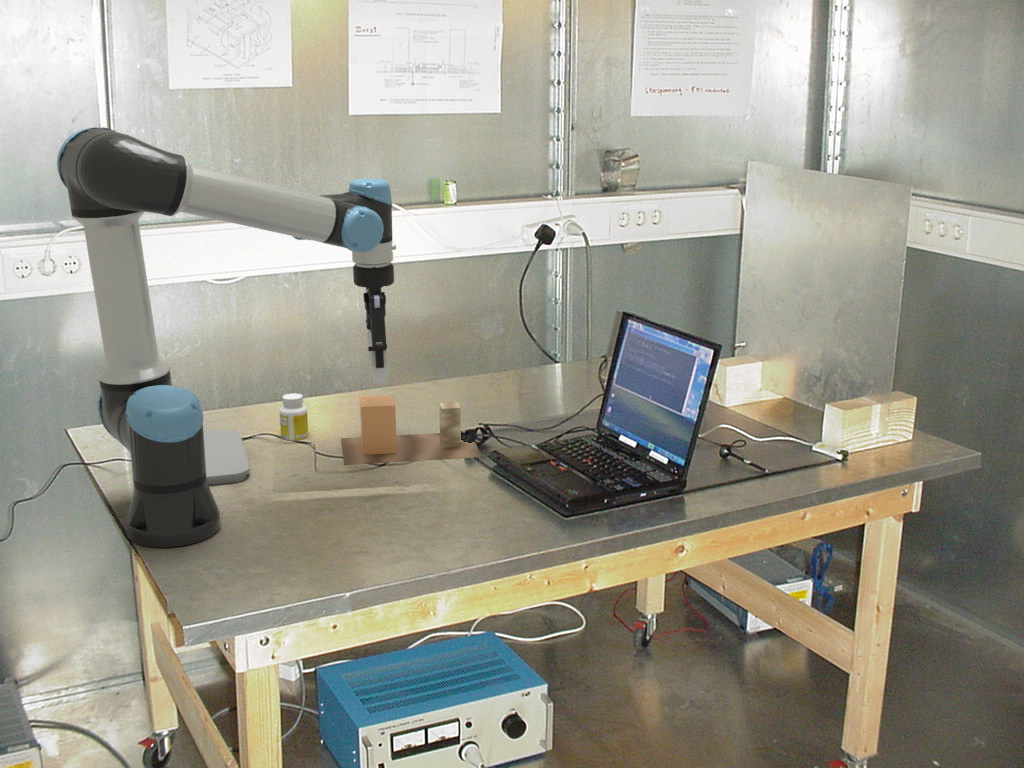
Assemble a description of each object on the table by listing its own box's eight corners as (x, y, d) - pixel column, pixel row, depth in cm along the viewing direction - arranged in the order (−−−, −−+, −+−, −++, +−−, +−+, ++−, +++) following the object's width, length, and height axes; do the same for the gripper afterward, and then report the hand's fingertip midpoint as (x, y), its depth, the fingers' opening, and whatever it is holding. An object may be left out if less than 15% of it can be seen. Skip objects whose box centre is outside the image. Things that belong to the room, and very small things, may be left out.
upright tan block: (362, 454, 235) (361, 407, 232) (361, 443, 241) (359, 396, 238) (396, 452, 236) (395, 405, 233) (393, 441, 242) (392, 395, 239)
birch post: (442, 447, 239) (441, 408, 237) (440, 441, 242) (439, 403, 240) (460, 446, 240) (460, 407, 237) (458, 440, 243) (457, 402, 241)
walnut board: (344, 472, 230) (343, 464, 230) (341, 445, 245) (340, 438, 244) (481, 464, 235) (481, 457, 234) (470, 438, 249) (470, 431, 248)
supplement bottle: (311, 438, 248) (309, 392, 245) (304, 448, 243) (302, 400, 240) (285, 437, 249) (283, 391, 246) (277, 447, 244) (275, 399, 241)
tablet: (238, 438, 250) (238, 427, 249) (252, 483, 226) (251, 472, 225) (155, 446, 245) (154, 435, 244) (160, 493, 221) (159, 481, 221)
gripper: (399, 276, 217) (403, 391, 223) (388, 249, 240) (392, 354, 247) (356, 278, 216) (361, 393, 222) (349, 251, 239) (354, 356, 246)
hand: (377, 373), depth 234 cm, fingers open, 13 cm apart
